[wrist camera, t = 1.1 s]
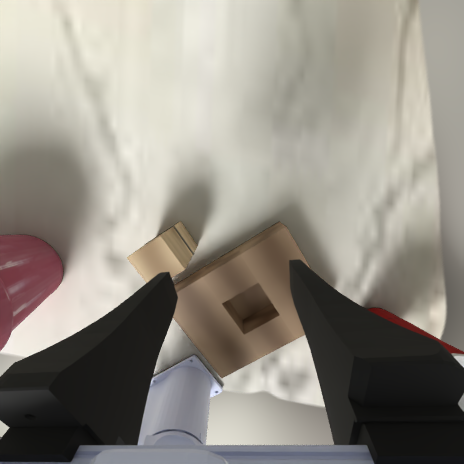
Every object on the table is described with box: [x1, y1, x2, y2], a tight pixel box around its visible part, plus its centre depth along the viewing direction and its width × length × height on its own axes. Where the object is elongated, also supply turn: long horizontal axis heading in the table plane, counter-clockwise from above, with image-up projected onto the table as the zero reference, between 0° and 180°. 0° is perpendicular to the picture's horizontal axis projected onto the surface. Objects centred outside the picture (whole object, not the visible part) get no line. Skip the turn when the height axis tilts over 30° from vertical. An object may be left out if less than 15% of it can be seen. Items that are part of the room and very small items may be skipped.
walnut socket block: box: [173, 222, 311, 378], centre depth 28 cm, size 18×14×4 cm
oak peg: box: [127, 221, 197, 283], centre depth 24 cm, size 4×4×8 cm
